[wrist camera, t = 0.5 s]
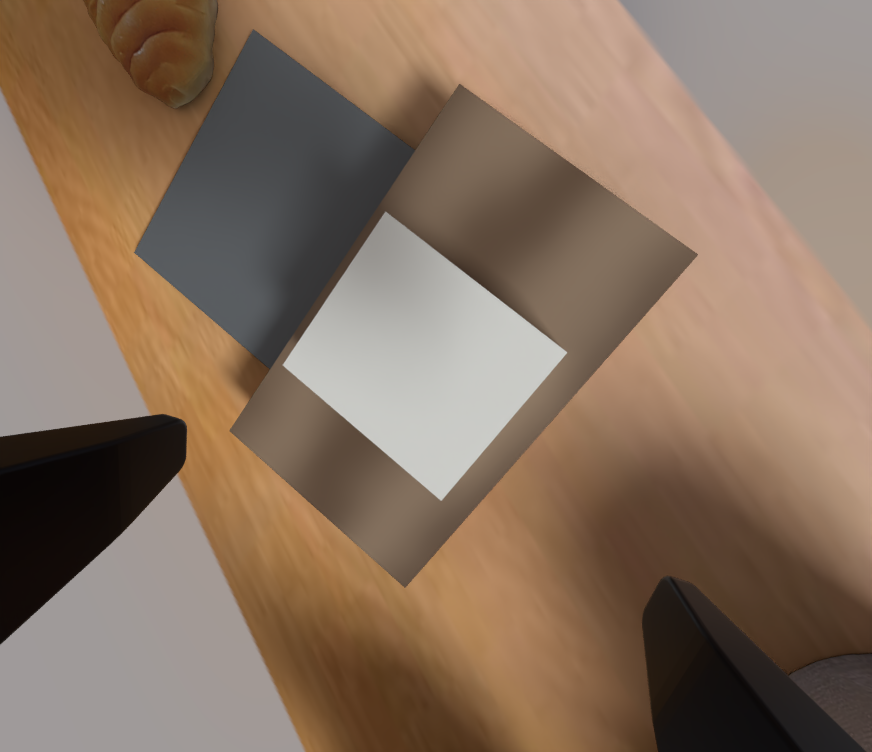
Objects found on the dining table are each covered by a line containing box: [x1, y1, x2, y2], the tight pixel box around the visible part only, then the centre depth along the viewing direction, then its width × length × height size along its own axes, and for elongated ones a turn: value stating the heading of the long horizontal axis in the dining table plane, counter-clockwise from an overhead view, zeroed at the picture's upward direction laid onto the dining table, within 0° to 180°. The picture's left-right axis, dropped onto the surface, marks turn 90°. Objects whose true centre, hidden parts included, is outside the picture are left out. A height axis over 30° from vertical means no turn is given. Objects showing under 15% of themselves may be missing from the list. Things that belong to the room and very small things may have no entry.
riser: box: [230, 84, 698, 587], centre depth 19 cm, size 11×18×3 cm, turn 142°
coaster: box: [283, 212, 567, 501], centre depth 17 cm, size 8×7×2 cm
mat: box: [134, 30, 415, 369], centre depth 22 cm, size 11×13×1 cm
